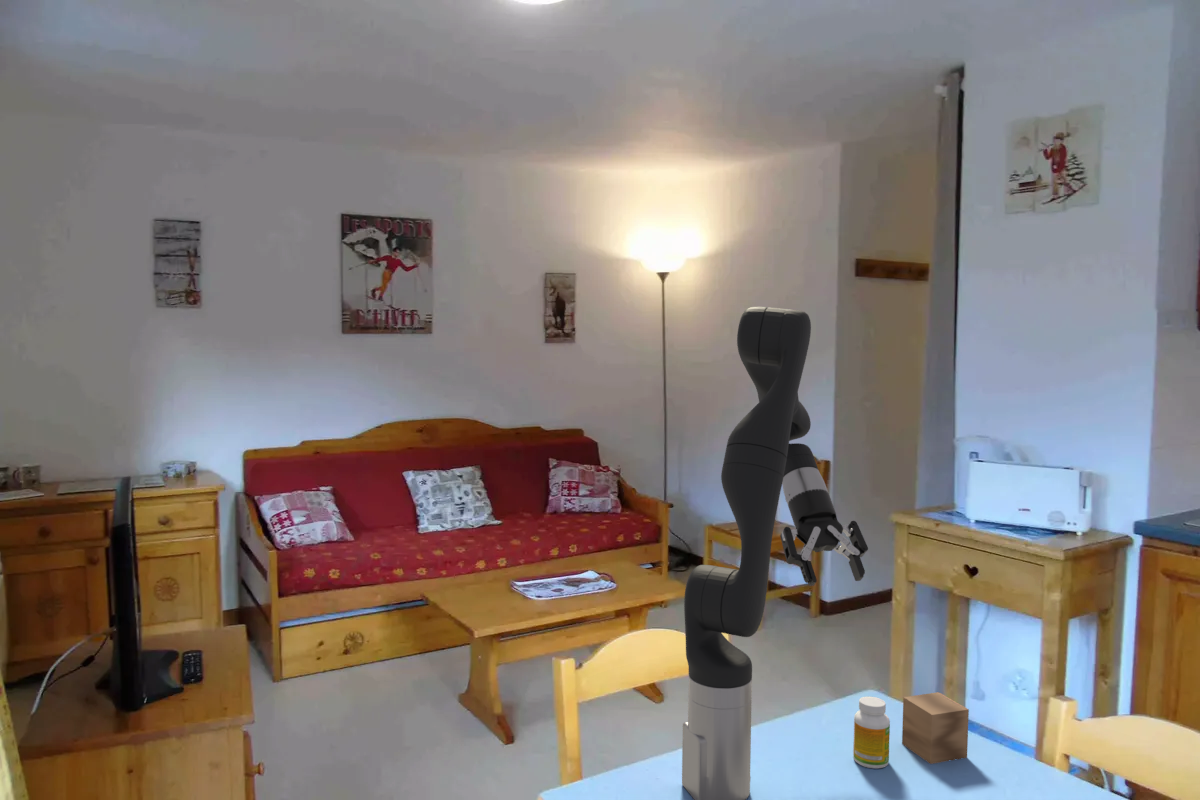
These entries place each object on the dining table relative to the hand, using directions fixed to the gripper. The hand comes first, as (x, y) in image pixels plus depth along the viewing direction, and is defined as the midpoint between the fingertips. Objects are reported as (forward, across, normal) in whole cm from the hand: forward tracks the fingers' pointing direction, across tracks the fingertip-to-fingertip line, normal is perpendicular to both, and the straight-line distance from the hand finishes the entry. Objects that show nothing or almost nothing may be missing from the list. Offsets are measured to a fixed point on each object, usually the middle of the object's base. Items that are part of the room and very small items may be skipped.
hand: (836, 581), depth 142 cm
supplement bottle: (+27, 0, +8) cm, 28 cm away
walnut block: (+27, +11, +10) cm, 31 cm away
